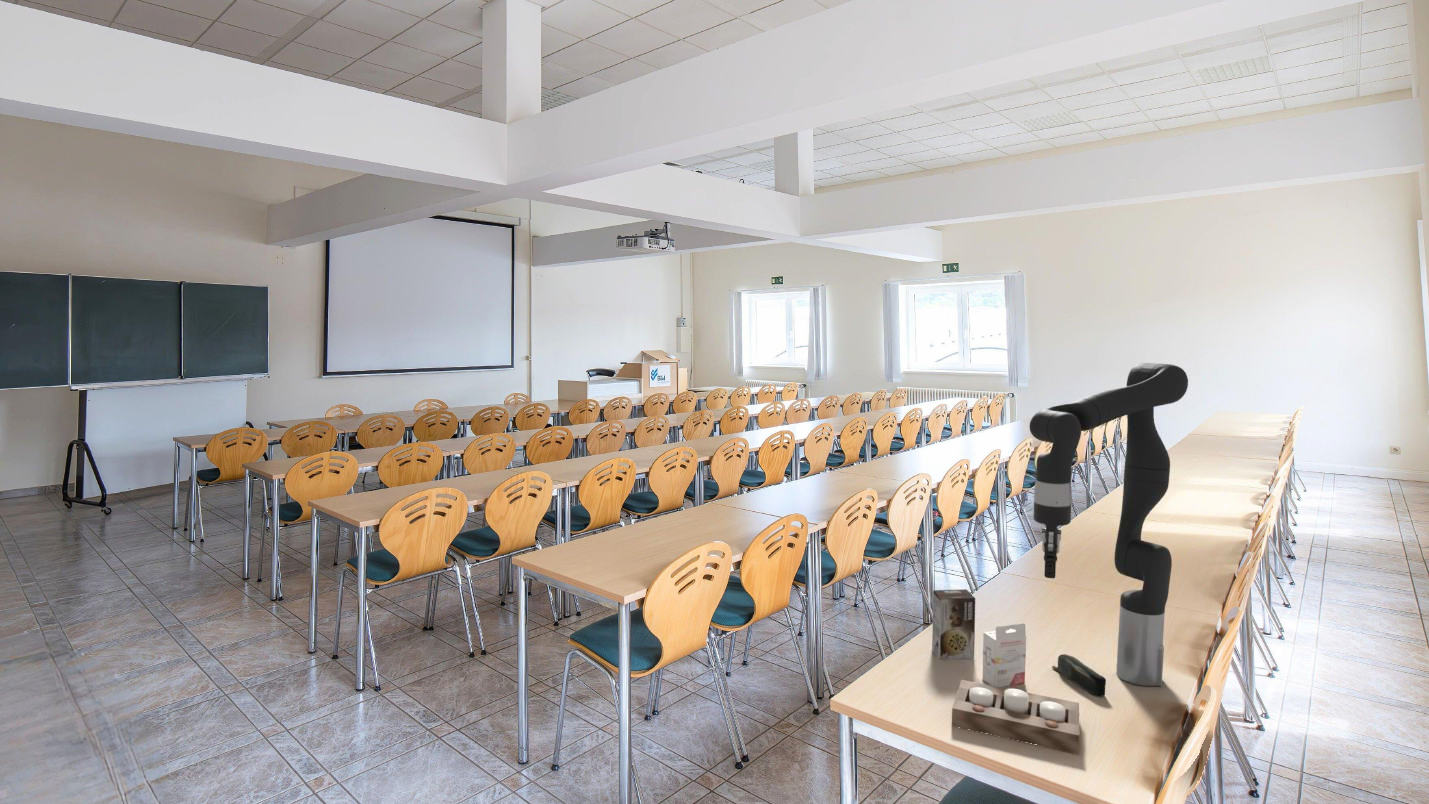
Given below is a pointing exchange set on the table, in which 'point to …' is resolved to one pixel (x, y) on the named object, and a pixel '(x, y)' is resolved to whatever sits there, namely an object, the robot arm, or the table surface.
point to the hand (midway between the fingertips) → (1049, 576)
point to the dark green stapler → (1081, 675)
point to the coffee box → (953, 624)
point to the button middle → (1016, 701)
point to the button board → (1017, 719)
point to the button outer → (981, 696)
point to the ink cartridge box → (1004, 655)
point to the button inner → (1052, 711)
